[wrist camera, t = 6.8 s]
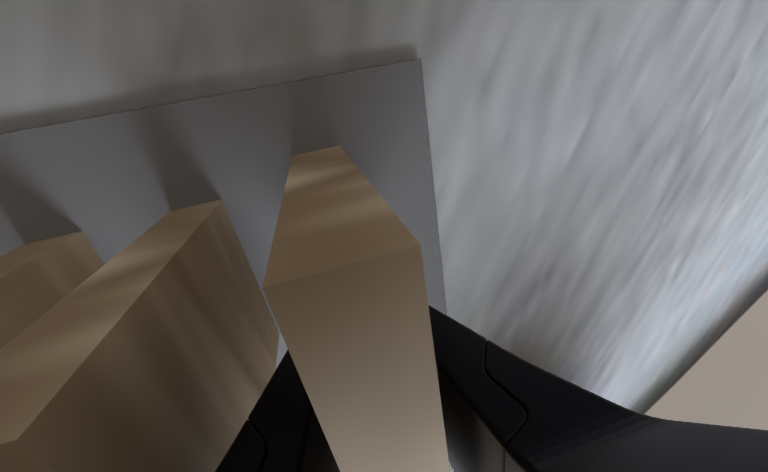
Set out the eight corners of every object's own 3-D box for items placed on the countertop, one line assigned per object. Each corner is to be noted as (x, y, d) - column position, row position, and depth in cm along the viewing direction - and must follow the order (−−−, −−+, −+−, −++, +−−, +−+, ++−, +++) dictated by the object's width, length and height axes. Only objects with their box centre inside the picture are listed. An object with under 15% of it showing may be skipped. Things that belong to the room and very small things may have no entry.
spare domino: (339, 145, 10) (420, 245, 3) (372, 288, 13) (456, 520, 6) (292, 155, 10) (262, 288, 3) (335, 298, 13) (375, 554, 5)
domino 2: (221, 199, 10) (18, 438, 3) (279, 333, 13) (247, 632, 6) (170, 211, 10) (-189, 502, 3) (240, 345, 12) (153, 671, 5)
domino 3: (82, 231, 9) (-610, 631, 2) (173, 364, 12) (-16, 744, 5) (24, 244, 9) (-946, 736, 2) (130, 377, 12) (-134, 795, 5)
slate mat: (416, 60, 10) (420, 58, 10) (445, 328, 15) (448, 333, 15) (-667, 254, 7) (-724, 263, 6) (-148, 516, 12) (-162, 530, 11)
